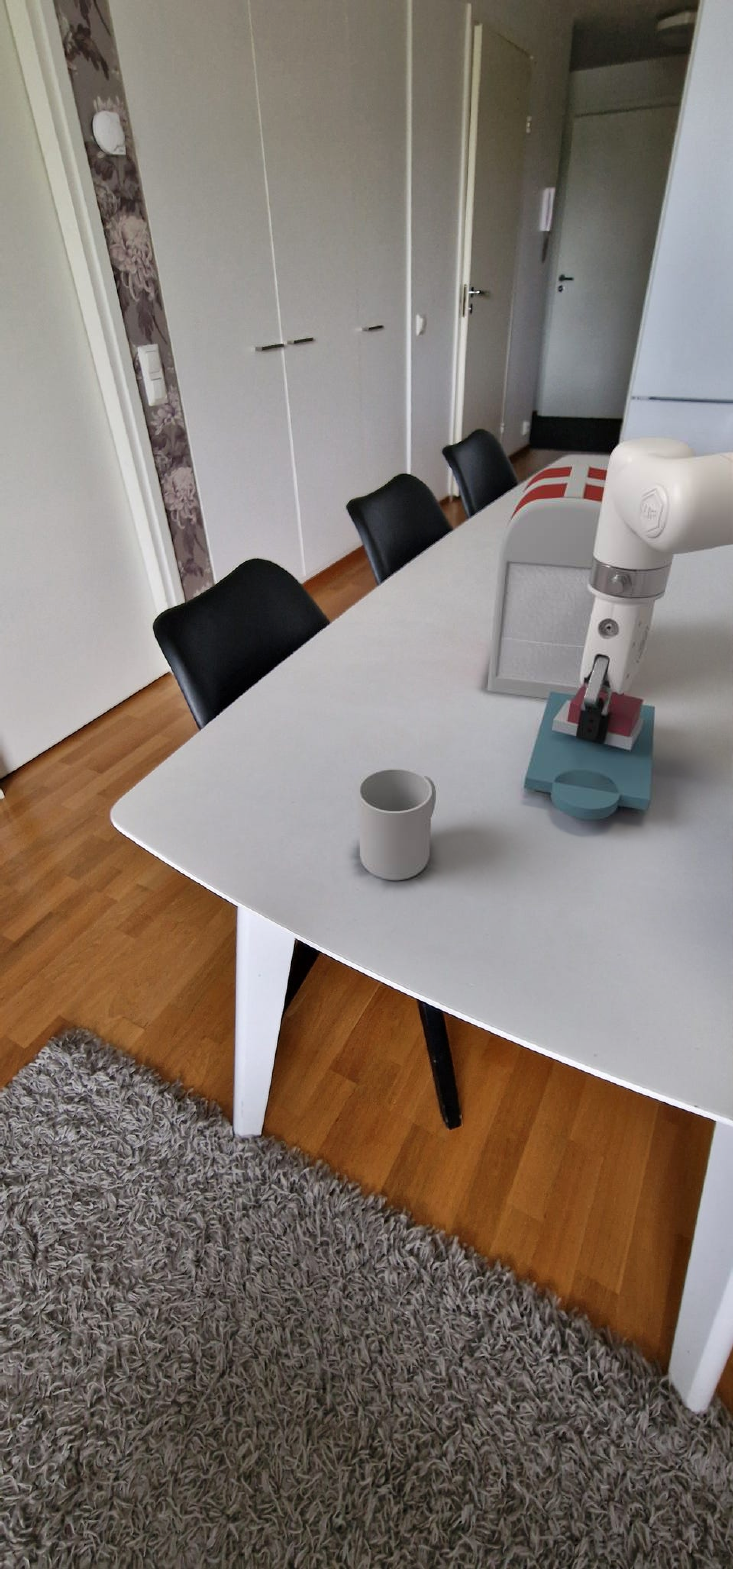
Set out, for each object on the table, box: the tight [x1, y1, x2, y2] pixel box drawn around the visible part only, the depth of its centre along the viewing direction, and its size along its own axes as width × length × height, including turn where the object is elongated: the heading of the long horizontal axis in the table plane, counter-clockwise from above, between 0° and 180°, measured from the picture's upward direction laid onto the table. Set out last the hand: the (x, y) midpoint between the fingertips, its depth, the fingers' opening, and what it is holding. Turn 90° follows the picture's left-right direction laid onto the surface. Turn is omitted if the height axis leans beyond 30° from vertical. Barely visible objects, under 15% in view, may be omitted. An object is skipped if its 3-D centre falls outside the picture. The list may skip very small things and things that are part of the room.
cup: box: [356, 767, 437, 881], centre depth 71 cm, size 7×10×9 cm
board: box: [523, 692, 656, 821], centre depth 83 cm, size 24×13×4 cm, turn 161°
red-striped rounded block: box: [486, 463, 607, 700], centre depth 97 cm, size 16×18×27 cm
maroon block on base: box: [552, 685, 644, 750], centre depth 81 cm, size 9×5×4 cm, turn 60°
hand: (597, 726), depth 82 cm, fingers closed on maroon block on base, 5 cm apart
